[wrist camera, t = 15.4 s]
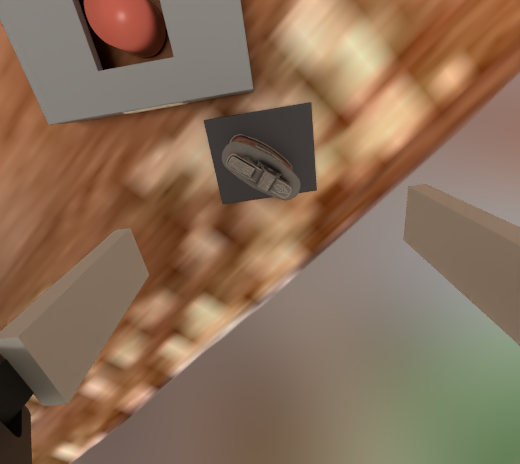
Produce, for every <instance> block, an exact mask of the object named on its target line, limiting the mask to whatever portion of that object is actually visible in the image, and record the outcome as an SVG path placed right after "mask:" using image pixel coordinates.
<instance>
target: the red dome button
mask: <svg viewBox="0 0 520 464" xmlns="http://www.w3.org/2000/svg"><path fill="white" fill-rule="evenodd" d="M84 8H85V13H86V17H87V19H88V22H89V24H90V26H91V27H92V29H93V30H94V32H95V33H96V34H97V35H98V36H99V37H100V38H101V39H102V40H103V41H104V42H106V43H108V44H109V45H112V46H114V47H116V48H119V49H121V50H124V51H126V52H129V53H131V54H133V55H136V56H139V57H151V56H153V55H155V54H157V53H158V52H159V51H160V49H161V48H162V46H163V44H164V41H165V25H164V21H163V18H162V16H161V14H160V12H159V11H158V9H157V8H156V7H155V5H154V4H152V3H151V2H150V1H149V0H84Z"/></svg>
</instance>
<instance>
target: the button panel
mask: <svg viewBox="0 0 520 464" xmlns="http://www.w3.org/2000/svg"><path fill="white" fill-rule="evenodd" d="M160 3H161V8H162V12H163V16H164V20H165V24H166V28H167V32H168V36H169V40H170V44H171V48H172V52H173V56H174V57H171V58H166V59H161V60H155V61H150V62H144V63H139V64H134V65H128V66H123V67H117V68H112V69H106V70H103V69H102V66H101V63H100V60H99V57H98V54H97V52H96V49H95V46H94V43H93V40H92V37H91V34H90V32H89V29H88V26H87V23H86V20H85V17H84V15H83V12H82V9H81V6H80V3H79V0H0V20H1V22H2V25H3V27H4V29H5V31H6V33H7V35H8V38H9V40H10V42H11V44H12V46H13V48H14V51H15V53H16V55H17V57H18V59H19V61H20V63H21V66H22V68H23V70H24V72H25V74H26V76H27V79H28V81H29V83H30V85H31V87H32V89H33V92H34V94H35V96H36V98H37V100H38V102H39V104H40V107H41V109H42V111H43V113H44V115H45V117H46V120H47V122H48V124H49V125H51V124H62V123H73V122H82V121H88V120H94V119H99V118H105V117H111V116H117V115H122V114H131V113H138V112H144V111H149V110H155V109H161V108H167V107H172V106H178V105H184V104H188V103H191V102H197V101H203V100H209V99H214V98H220V97H226V96H232V95H238V94H243V93H249V92H254V88H253V81H252V75H251V68H250V61H249V54H248V47H247V40H246V33H245V26H244V19H243V12H242V5H241V0H160Z"/></svg>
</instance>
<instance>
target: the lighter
mask: <svg viewBox="0 0 520 464" xmlns="http://www.w3.org/2000/svg"><path fill="white" fill-rule="evenodd" d="M222 162H223V164H224V166H225V167H226V168H227V169H228V170H229V171H231V172H232V173H233V174H234V175H235V176H237V177H238V178H239V179H241V180H242V181H244V182H245V183H247V184H248V185H250V186H251V187H253V188H255V189H257V190H259V191H261V192H263V193H265V194H267V195H270V196H273V197H276V198H279V199H282V200H290V199H292V198H294V197H295V196H296V195H297V194H298V192H299V190H300V186H301V184H300V180H299V178H298V177H297V175H296V174H295V173H293V171H292V166H291V164H290V163H289V161H288V160H286V159H285V158H284V157H283V156H282V155H281V154H280V153H279V152H277V151H276V150H275V149H273V148H272V147H270V146H269V145H267V144H265V143H263V142H261V141H260V140H258V139H255V138H253V137H250V136H247V135H245V134H237V135H235V136H234V137H233V138H232V139H231V141H230V143H229V144H227V145H226V147H225V148H224V150H223V152H222Z"/></svg>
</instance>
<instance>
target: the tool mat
mask: <svg viewBox="0 0 520 464" xmlns="http://www.w3.org/2000/svg"><path fill="white" fill-rule="evenodd" d="M204 124H205V128H206V133H207V137H208V141H209V146H210V150H211V155H212V159H213V163H214V168H215V172H216V177H217V181H218V186H219V190H220V194H221V199H222V203H223V204H229V203H235V202H242V201H249V200H255V199H262V198H269V197H273V196H270V195H267V194H265V193H263V192H261V191H259V190H257V189H255V188H253V187H251V186H250V185H248V184H247V183H245V182H244V181H242V180H241V179H239V178H238V177H237V176H235V175H234V174H233V173H232V172H231V171H229V170H228V169H227V168H226V167H225V166H224V164H223V162H222V152H223V150H224V148H225V147H226V145H227V144H229V143H230V141H231V139H232V138H233V137H234V136H235V135H237V134H245V135H247V136H250V137H253V138H255V139H258V140H260V141H261V142H263V143H265V144H267V145H269V146H270V147H272V148H273V149H275V150H276V151H277V152H279V153H280V154H281V155H282V156H283V157H284V158H285V159H286V160H288V161H289V163H290V164H291V166H292V171H293V173H295V174H296V175H297V177H298V178H299V180H300V184H301V186H300V190H299V192H298V193H302V192H309V191H316V190H317V187H316V172H315V156H314V140H313V124H312V108H311V103H304V104H298V105H293V106H287V107H281V108H275V109H269V110H263V111H257V112H251V113H245V114H239V115H233V116H227V117H222V118H216V119H210V120H204Z"/></svg>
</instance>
